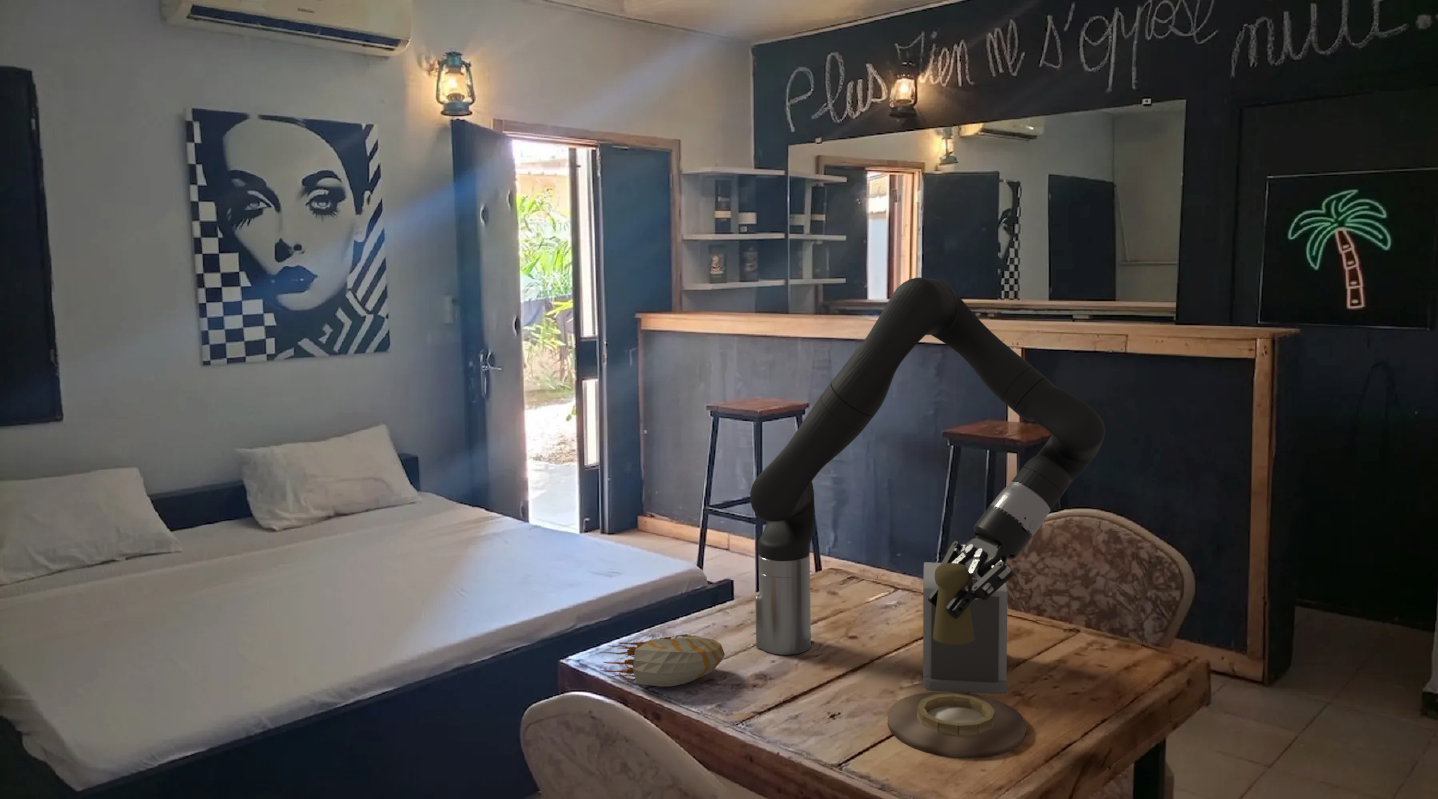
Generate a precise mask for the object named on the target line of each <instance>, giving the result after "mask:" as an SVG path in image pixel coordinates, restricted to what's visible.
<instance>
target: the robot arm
mask: <svg viewBox="0 0 1438 799" xmlns="http://www.w3.org/2000/svg"><path fill="white" fill-rule="evenodd" d="M926 336H932V337H933V338H935V339H937V340H939V341H940V342H942V343H944V344H945V345H946V346H948V347H950V348H951V349H952V350H954V351H955V352H956V353H957V354H959V355H960V357H962V358H963V359H964V361H965V362H967V363H968V365H969V366H970V367H971V368H972V369H973V370H974V372H975V373H976V374H977V375H978V377H979V379H980V380H981V381H982V382H983V384H984V385H985V386H986V387H987V388H988V390H990V391H991V392H992V393H993V394H994V395H995V396H996V397H997V398H998V399H999V400H1000V401H1001V402H1003V403H1004V404H1005V405H1006V406H1008V407H1009V408H1010V409H1011V410H1012V411H1013V412H1014V413H1016V414H1017V416H1019V417H1020V418H1022V419H1024V420H1025V421H1026V422H1036V423H1037V424H1039V425H1040V426H1041V427H1042V428H1043V429H1045V430H1046V431H1048V433H1050V434H1051V436H1050V437H1049V439H1047V441H1046V443H1045V444H1044V446H1043V447H1042V448H1040V450H1039V451H1038V453H1037V454H1036V455H1035V456H1033V457H1031V458H1030V459H1029V460H1028V461H1026V462H1025V464H1024V465H1023V466H1022V467H1021V469H1020V470H1019V471H1018V473H1016V475H1015V476H1014V478H1013V479H1012V480H1011V481H1010V483H1009V484H1008V485H1007V486H1005V488H1003V489H1002V490H1001V491H1000V492H999V494H998V495H997V496H996V497H995V499H994V500H993V501H992V503H991V504H989V506H988V508H987V509H986V510H985V511H984V513H983V514H982V515H981V516H980V518H979V519H978V520H977V521H976V523H975V524H974V525H973V531H974V534H975V535H974V537H972V539H971V540H968V542H967V543H966V544H961V543H960V542H959V541H957V540H954V541H953V542H952V543H951V545H950V547H949V549H948V550H947V552H946V555H945V556H944V558H943V560H942V561H941V562H940V563H941V565H942V564H946V563H958V564H962V565H965V566H966V567H968V569H969V570H968V576H969V578H968V580H967V582H966V584H965V585H964V586H963V588H962V590H963V591H962V590H959V592H958V593H957V594H956V595H955V597H954V598H953V599H952V601H951V602H950V603H949V604H948V606H947V607H946V612H947V613H948V614H950V615H951V616H952V617H953V618H955V619H957V618H958V617H959V616H960V615H961V614H962V613H963V612H964V610H965V609H966V608H967V607H968V606H969V604H970V603H971V602H972V601H973V600H977V599H978V598H981V599H982V600H987V599H988V598H989V597H990V596H991V595H992V594H993V593H994V592H996V591H997V590H998V589H999V588H1000V587H1001V586H1002V585H1003V584H1004V583H1007V582H1008V581H1009V580H1010V579H1011V578H1012V577H1014V574H1015V572H1014V571H1013V570H1012V568H1010V567H1009V566H1008V564H1007V561H1008V559H1010V560H1013V559H1014V560H1015V559H1016V558H1017V557H1018V556H1019V554H1020V553H1021V552H1022V551H1023V550H1024V548H1025V547H1026V546H1027V544H1029V542H1030V541H1031V539H1032V538H1033V537H1034V536H1035V535H1036V533H1037V532H1038V531H1039V529H1040V528H1041V526H1042V525H1043V524H1044V522H1045V520H1046V519H1047V517H1048V515H1049V513H1050V512H1051V511H1052V510H1053V508H1054V507H1055V505H1056V504H1057V503H1058V502H1059V501H1060V500H1061V497H1063V496H1064V494H1065V492H1066V491H1067V490H1068V488H1069V486H1070V484H1071V483H1072V482H1073V481H1074V480H1075V479H1077V478H1078V476H1080V474H1081V473H1083V471H1084V470H1085V469H1086V468H1087V466H1089V464H1090V463H1091V462H1092V461H1093V459H1094V458H1095V457H1096V456H1097V454H1098V452H1099V450H1100V449H1101V445H1102V443H1103V442H1104V440H1105V436H1106V427H1105V423H1104V421H1103V419H1102V417H1101V416H1100V414H1098V413H1097V411H1095V410H1094V408H1092V407H1091V406H1089V404H1087V403H1086V402H1084V401H1082V400H1081V399H1080V398H1078V397H1076V396H1075V395H1073V394H1071V393H1069V392H1067V391H1066V390H1063V389H1062V388H1060V387H1058V386H1056V385H1055V384H1053V382H1052V381H1050V380H1049V378H1047V377H1046V376H1045V375H1044V374H1042V373H1041V372H1040V371H1039V370H1038V369H1036V368H1035V367H1034V366H1033V365H1032V364H1030V362H1028V361H1026V360H1025V359H1024V358H1023V357H1022V356H1020V355H1019V354H1018V353H1016V351H1014V350H1013V349H1012V348H1011V347H1010V346H1008V345H1007V344H1006V343H1005V342H1003V341H1002V340H1001V339H1000V338H999V337H998V336H997V335H996V334H994V333H993V332H992V331H991V330H990V329H989V328H988V327H987V326H986V325H985V324H984V323H983V322H982V321H981V320H980V318H978V317H977V316H976V314H975V313H974V312H973V311H972V310H971V308H970V307H969V306H968V305H967V304H966V302H964V300H963V299H962V298H961V297H960V296H959V295H958V294H957V292H956V291H955V290H954V289H953V288H952V287H951V286H950V285H949V284H948V283H946V282H945V281H943V280H940V279H938V278H937V279H936V278H929V277H913V278H911V279H908V280H905V281H904V282H902V283H901V284H900V285H899V286H898V287H897V288H896V289H895V290H894V292H893V293H892V294H891V296H890V297H889V299H888V301H887V302H886V303H885V306H884V308H883V309H882V311H881V313H880V315H879V316H878V318H877V320H876V321H875V323H874V325H873V326H872V328H871V330H870V331H869V333H868V334H867V336H866V337H865V339H864V340H863V341H862V342H861V344H860V345H859V346H858V347H857V349H856V350H855V351H854V352H853V354H852V355H850V357H849V359H848V360H847V361H846V362H845V364H844V365H843V367H842V368H841V369H840V370H839V372H838V373H837V374H836V375H835V377H834V378H833V379H832V380H831V381H830V383H829V385H828V386H827V387H826V389H825V390H824V391H823V392H822V394H820V396H819V398H818V399H817V401H816V402H815V404H814V405H813V407H812V408H811V409H810V411H809V412H808V413H807V415H806V417H805V418H804V419H803V421H802V422H801V424H800V425H799V427H798V428H797V430H796V431H795V433H794V435H793V436H792V437H791V439H790V440H789V442H788V443H787V444H786V445H785V447H784V448H782V450H781V451H780V453H778V454H777V455H776V457H775V458H774V459H773V460H772V461H771V462H770V463H768V465H767V466H766V468H764V469H763V470H762V472H760V473H759V475H757V477H756V478H755V480H754V481H753V483H752V485H751V488H750V493H749V495H750V496H749V498H750V499H749V500H750V505H751V508H752V510H753V512H754V514H755V515H756V516H757V517H758V518H760V519H761V520H764V521H766V522H765V526H764V529H763V532H762V533H761V535H760V537H759V540H758V544H757V545H758V548H757V550H758V583H759V585H758V589H759V590H758V591H759V593H758V595H756V596H755V601H754V602H755V604H754V605H755V644H756V646H755V647H756V649H761V650H763V651H765V652H767V653H770V654H773V655H774V654H775V655H787V656H789V655H798V654H802V653H804V652H806V651H808V650H810V648H811V647H812V643H811V642H812V639H811V638H812V628H811V626H812V624H811V618H812V617H811V611H812V610H811V555H810V551H811V550H810V548H811V543H812V540H813V535H814V526H815V524H814V523H815V490H814V484H813V480H814V479H815V478H816V476H817V475H818V474H819V473H820V472H821V471H822V469H823V468H824V467H825V466H826V465H827V464H828V463H830V462H831V461H832V460H833V459H835V457H837V456H838V455H839V454H840V453H842V451H843V450H845V449H846V448H847V447H848V446H849V445H850V444H851V443H852V442H853V441H854V440H856V439H857V437H858V436H859V435H860V434H861V433H862V432H863V430H865V428H866V427H867V426H868V424H869V423H870V422H871V421H872V419H873V418H874V417H875V415H876V414H877V413H878V411H879V410H880V409H881V407H882V405H883V404H884V402H885V399H886V398H887V394H888V392H889V390H890V387H891V384H892V382H893V378H894V377H895V374H896V372H897V370H898V368H899V366H900V365H901V363H902V362H903V361H904V359H905V358H907V356H908V355H909V353H910V352H911V351H912V350H913V349H914V348H915V347H916V346H917V344H918V343H919V342H920V341H921V340H922V339H923V338H924V337H926ZM973 583H975V584H974V585H973ZM989 583H990V584H991V585H990V586H989V587H988V588H987V589H986V590H984V589H983V588H986V587H987V586H988V585H989ZM972 585H973V586H972ZM938 588H939V587H938V585H937V587H936V588H935V589H934V591H933V592H932V593H931V595H930V596H929V598H928V601H929V602H930V603H931V604H932V605H933V606H934V607H936V606H937V597H938Z"/></svg>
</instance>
